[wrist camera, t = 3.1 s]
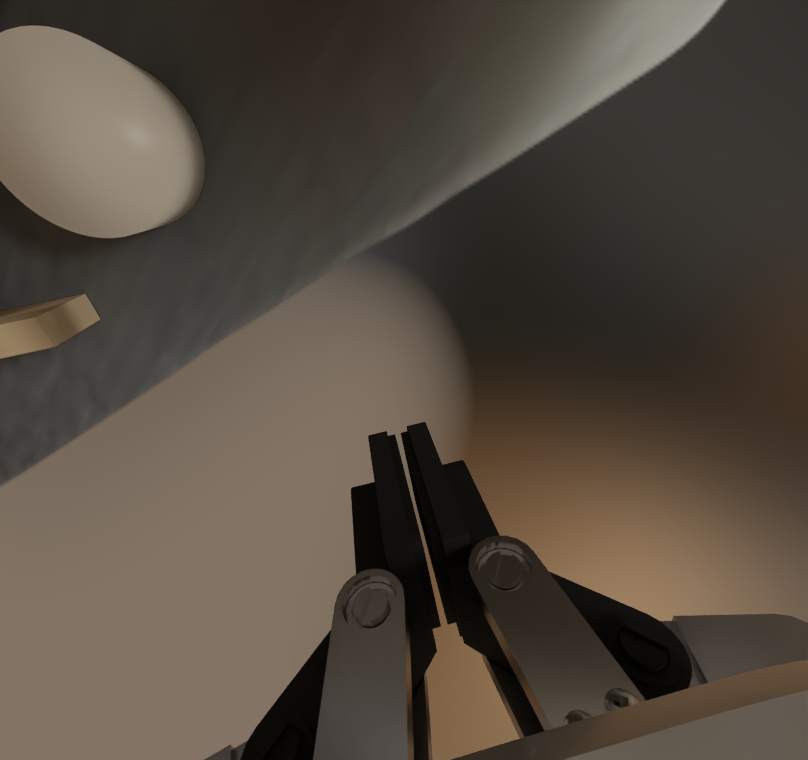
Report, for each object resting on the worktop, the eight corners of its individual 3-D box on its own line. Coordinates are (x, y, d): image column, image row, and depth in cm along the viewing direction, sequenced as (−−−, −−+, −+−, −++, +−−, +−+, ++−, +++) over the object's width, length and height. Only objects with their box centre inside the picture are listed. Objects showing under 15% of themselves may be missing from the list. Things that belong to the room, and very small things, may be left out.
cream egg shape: (165, 43, 17) (121, 9, 13) (228, 212, 20) (205, 220, 17) (3, 71, 17) (-87, 43, 13) (93, 239, 20) (42, 253, 17)
